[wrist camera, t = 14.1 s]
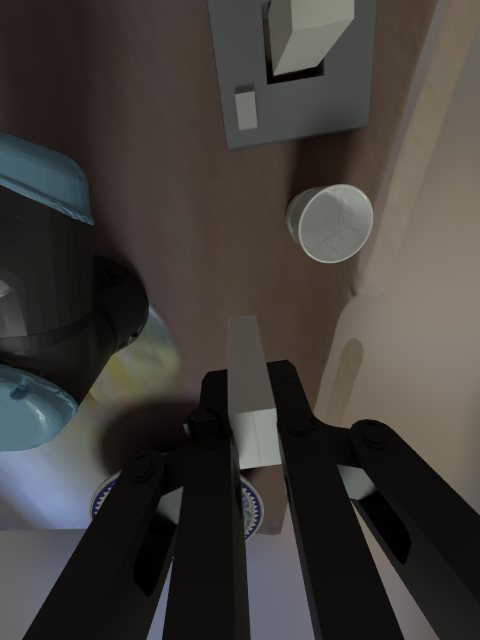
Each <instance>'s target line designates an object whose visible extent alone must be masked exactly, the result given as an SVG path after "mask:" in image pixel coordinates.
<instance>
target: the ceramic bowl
mask: <svg viewBox="0 0 480 640" xmlns="http://www.w3.org/2000/svg"><path fill="white" fill-rule="evenodd" d="M171 452H173V451H169V452H164V453H161V454H162V455H163V456H164V455H166V454H168V453H171ZM121 471H122V470H121ZM121 471H119V472H117V473H115V474H113V475H112V476H110V477H109V478H108V479H106V480H105V481H104V482H103V483H102V484H101V485H100V486H99V487H98V489H97V490H96V491H95V493H94V495H93V497H92V499H91V502H90V506H89V517H90V521H91V522H92V520H93V518H94V517H95V515H96V513H97V512H98V510H99V508H100V507H101V505H102V503H103V501H104V500H105V498H106V496H107V495H108V493H109V491H110V490H111V488H112V486H113V484H114V483H115V481H116V479H117V478H118V476H119V474H120V473H121ZM240 479H241V484H242V493H243V511H244V529H245V542H246V541H247V540H248V539H249V538H251V537H252V536H253V534H254V533H255V532H256V531H257V530H258V528H259V526H260V524H261V522H262V519H263V512H264V507H263V501H262V498H261V496H260V494H259V492H258V490H257V489H256V488H255V486H254V485H253V484H252V483H251V482H250V481H249V480H248V479H246V478H245V477H244V476H242V475H241V474H240ZM173 557H174V555H173ZM172 562H173V559H172Z"/></svg>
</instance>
